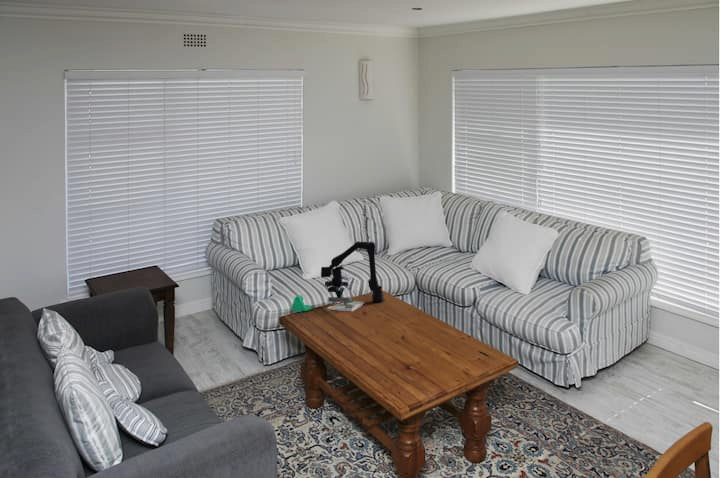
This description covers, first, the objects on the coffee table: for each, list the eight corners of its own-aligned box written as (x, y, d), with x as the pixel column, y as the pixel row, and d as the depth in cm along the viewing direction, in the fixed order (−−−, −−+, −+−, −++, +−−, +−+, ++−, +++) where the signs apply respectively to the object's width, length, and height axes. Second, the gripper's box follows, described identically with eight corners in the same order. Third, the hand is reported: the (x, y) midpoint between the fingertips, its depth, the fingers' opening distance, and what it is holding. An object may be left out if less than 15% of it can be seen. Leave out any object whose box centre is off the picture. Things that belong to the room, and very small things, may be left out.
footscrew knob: (354, 302, 391) (353, 296, 390) (350, 305, 386) (349, 299, 385) (331, 302, 398) (330, 296, 397) (327, 304, 393) (326, 298, 392)
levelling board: (364, 303, 392) (363, 297, 392) (352, 311, 376) (351, 304, 376) (339, 303, 400) (339, 296, 399) (326, 310, 384) (326, 303, 383)
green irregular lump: (313, 309, 389) (311, 294, 388) (305, 312, 383) (303, 297, 382) (299, 308, 397) (298, 292, 395) (291, 311, 391) (290, 295, 389)
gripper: (333, 273, 407) (335, 295, 409) (319, 279, 391) (321, 302, 393) (347, 273, 402) (349, 296, 404) (334, 279, 386) (336, 303, 388)
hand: (339, 299), depth 397 cm, fingers closed
